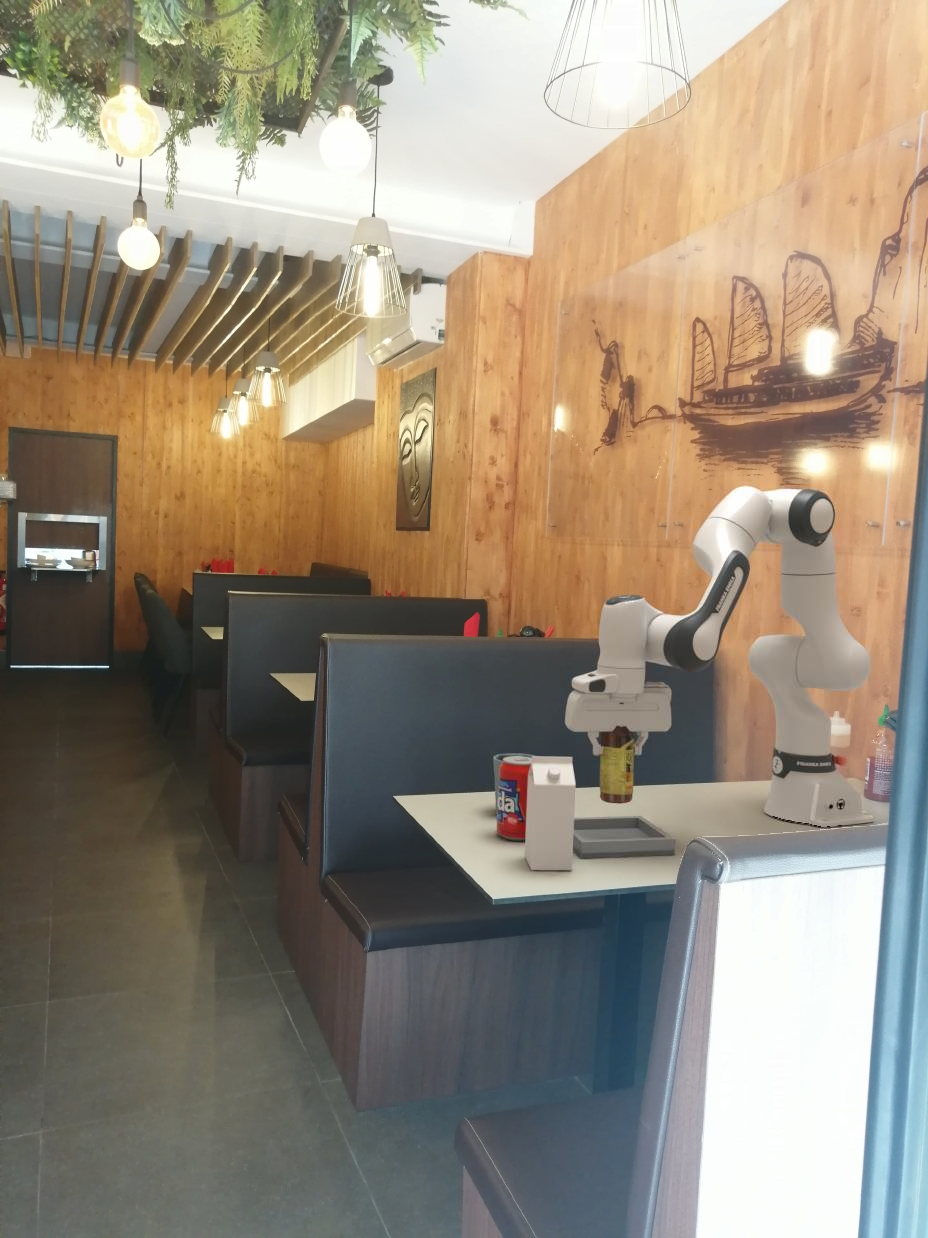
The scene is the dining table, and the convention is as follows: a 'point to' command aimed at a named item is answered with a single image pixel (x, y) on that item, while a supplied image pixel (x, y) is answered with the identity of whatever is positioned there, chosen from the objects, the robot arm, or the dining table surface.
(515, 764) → the soda can
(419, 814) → the dining table surface
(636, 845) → the tray
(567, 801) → the milk carton
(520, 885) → the dining table surface
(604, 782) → the sauce bottle
